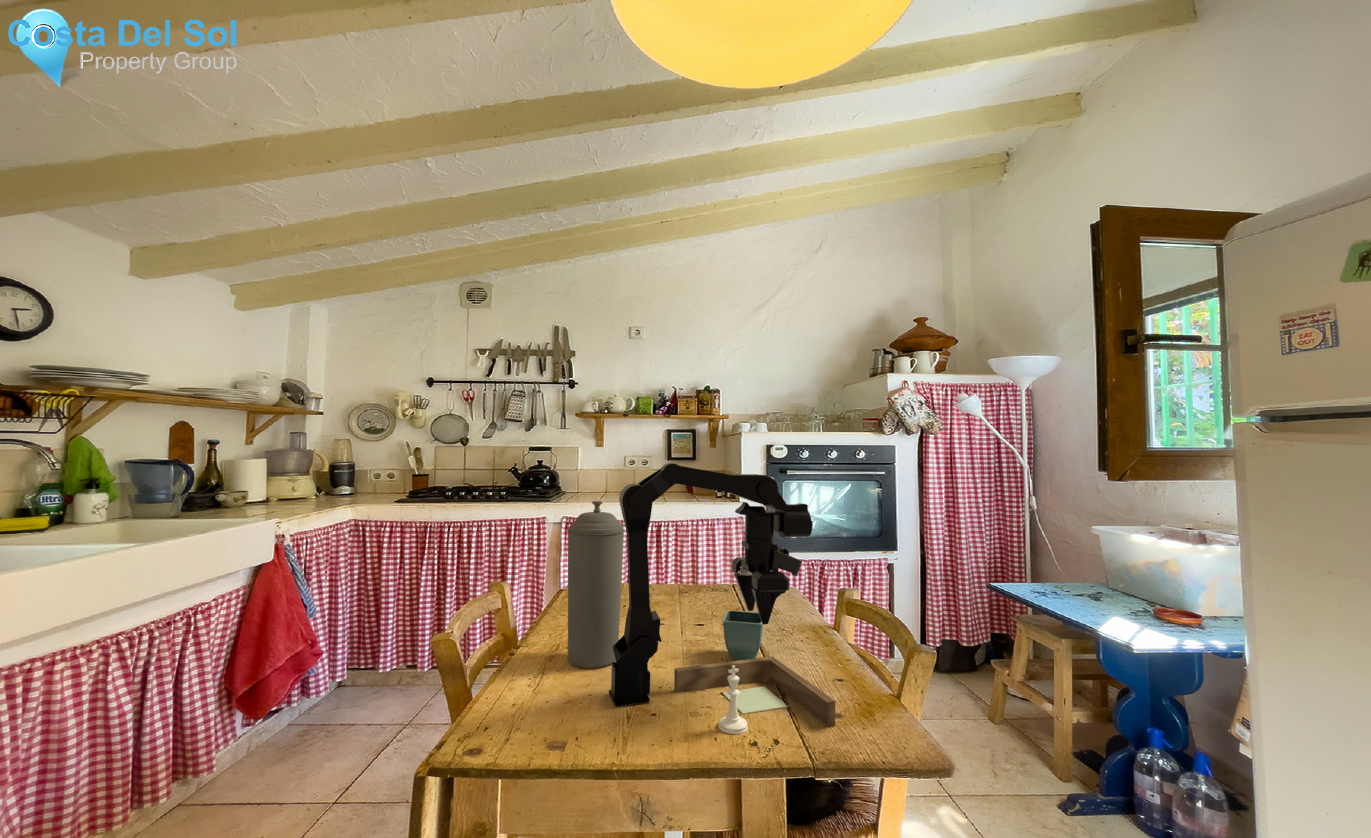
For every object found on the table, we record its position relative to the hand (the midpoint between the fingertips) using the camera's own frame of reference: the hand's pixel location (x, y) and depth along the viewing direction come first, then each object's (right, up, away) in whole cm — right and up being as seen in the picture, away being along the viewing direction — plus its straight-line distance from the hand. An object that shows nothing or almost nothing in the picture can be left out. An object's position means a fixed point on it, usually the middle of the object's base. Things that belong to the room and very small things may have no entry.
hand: (757, 617), depth 109 cm
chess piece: (-6, -13, -17) cm, 22 cm away
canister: (-35, -14, +13) cm, 40 cm away
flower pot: (-1, -15, +16) cm, 22 cm away
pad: (-1, -13, -6) cm, 15 cm away
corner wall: (-3, -13, -9) cm, 16 cm away
